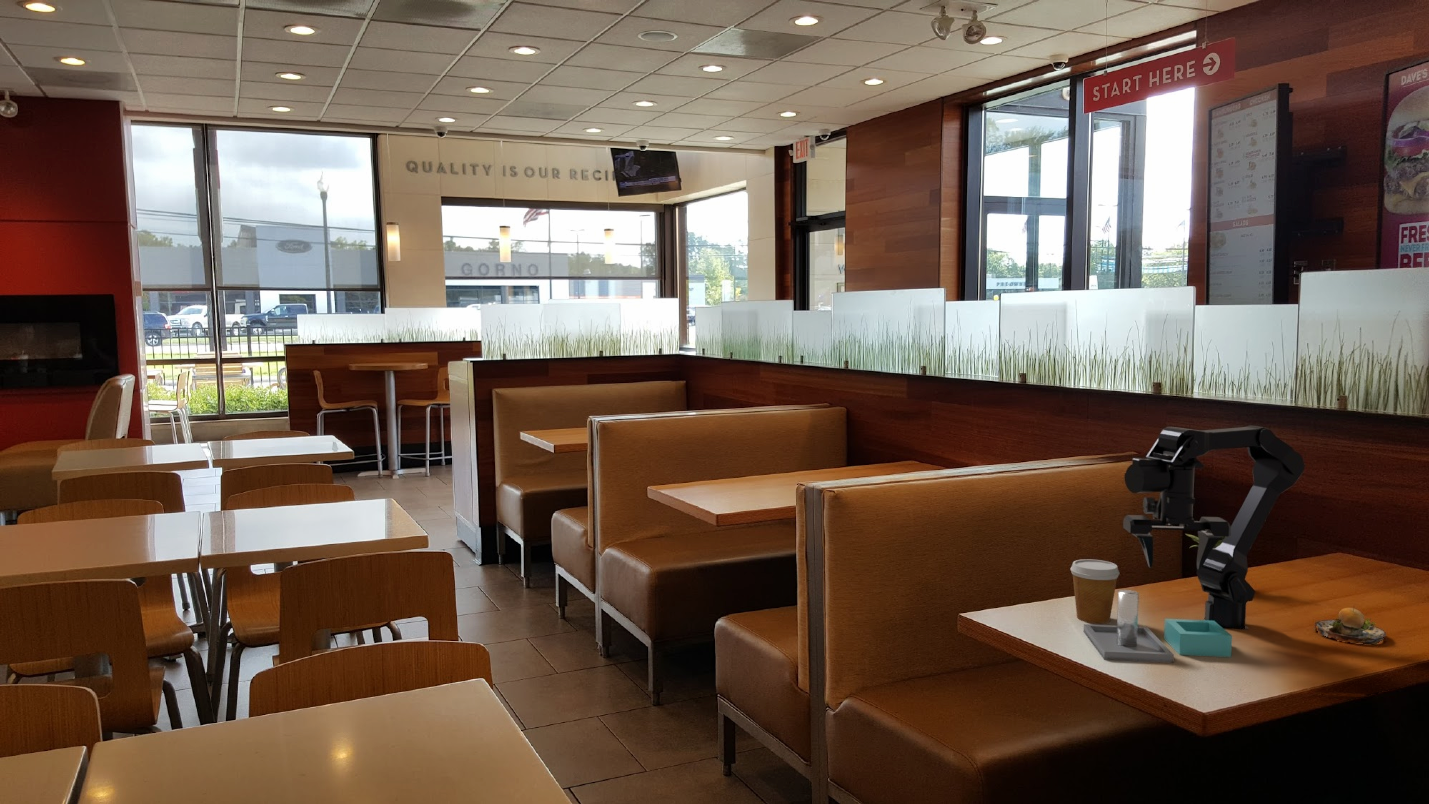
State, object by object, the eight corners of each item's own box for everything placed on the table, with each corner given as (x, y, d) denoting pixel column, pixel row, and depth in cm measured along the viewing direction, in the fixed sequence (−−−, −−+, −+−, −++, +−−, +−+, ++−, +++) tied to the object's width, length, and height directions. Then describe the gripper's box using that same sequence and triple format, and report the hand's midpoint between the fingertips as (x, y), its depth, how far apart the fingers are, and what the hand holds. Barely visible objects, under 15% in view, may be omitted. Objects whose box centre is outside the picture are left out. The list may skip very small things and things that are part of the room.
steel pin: (1133, 641, 186) (1135, 590, 185) (1139, 647, 183) (1141, 595, 182) (1114, 640, 187) (1115, 589, 186) (1119, 646, 183) (1121, 594, 182)
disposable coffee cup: (1109, 614, 206) (1111, 559, 205) (1124, 629, 197) (1126, 570, 196) (1063, 613, 207) (1065, 558, 206) (1075, 627, 198) (1077, 569, 197)
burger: (1391, 636, 192) (1393, 599, 192) (1379, 651, 184) (1382, 612, 183) (1321, 623, 201) (1323, 588, 200) (1307, 637, 192) (1309, 600, 191)
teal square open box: (1212, 643, 188) (1213, 620, 187) (1230, 659, 179) (1232, 635, 179) (1163, 641, 189) (1164, 618, 189) (1179, 657, 180) (1180, 633, 180)
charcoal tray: (1146, 636, 192) (1146, 626, 192) (1173, 665, 176) (1173, 654, 176) (1083, 634, 193) (1083, 624, 193) (1104, 662, 178) (1104, 651, 178)
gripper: (1212, 484, 199) (1209, 559, 200) (1117, 483, 202) (1114, 556, 203) (1233, 494, 188) (1230, 573, 189) (1132, 492, 191) (1129, 570, 192)
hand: (1174, 568), depth 194 cm, fingers open, 9 cm apart
